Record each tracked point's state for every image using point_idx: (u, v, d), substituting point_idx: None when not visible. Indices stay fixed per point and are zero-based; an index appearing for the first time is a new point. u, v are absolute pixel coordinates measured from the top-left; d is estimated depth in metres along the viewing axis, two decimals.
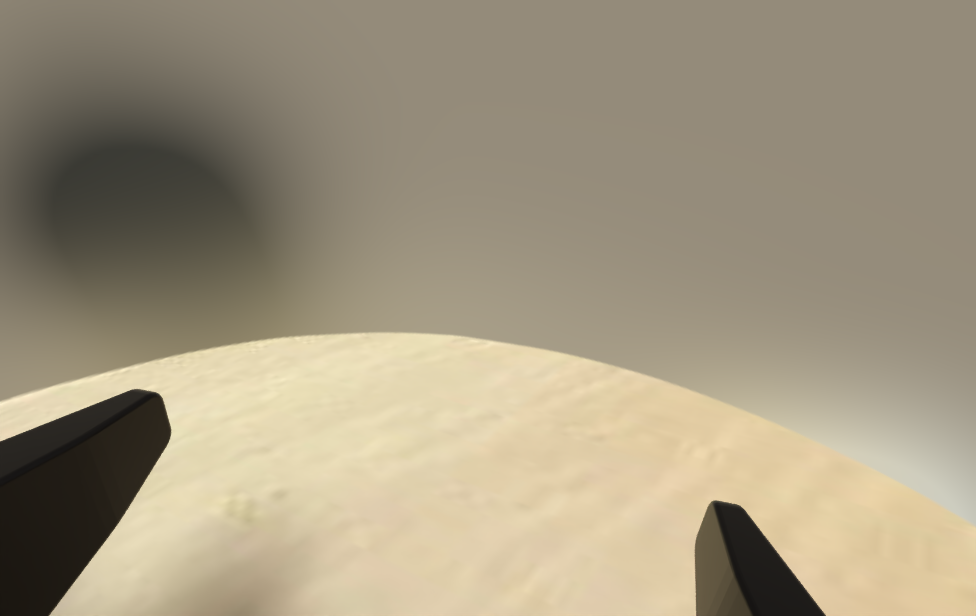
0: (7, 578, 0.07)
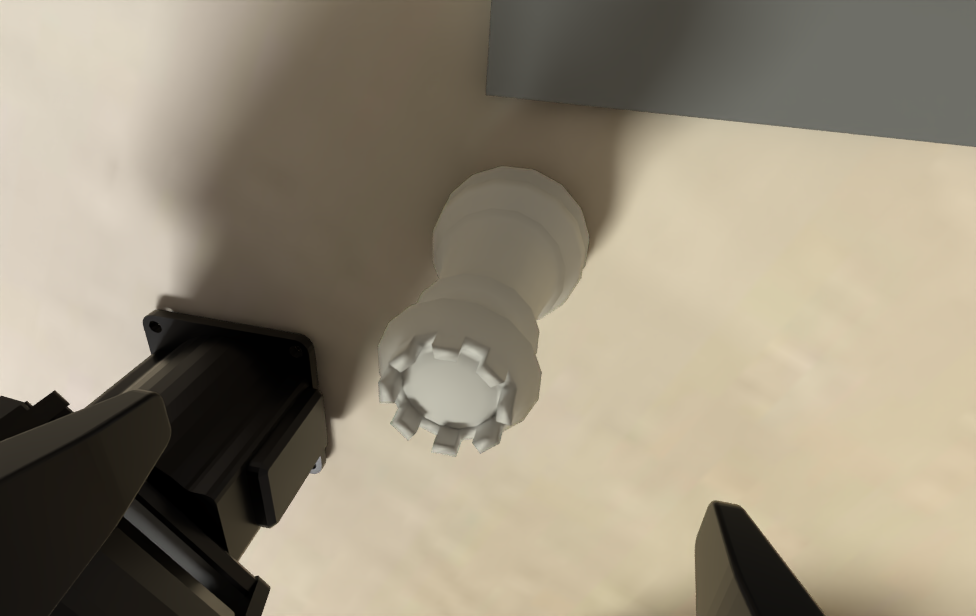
0: (7, 578, 0.07)
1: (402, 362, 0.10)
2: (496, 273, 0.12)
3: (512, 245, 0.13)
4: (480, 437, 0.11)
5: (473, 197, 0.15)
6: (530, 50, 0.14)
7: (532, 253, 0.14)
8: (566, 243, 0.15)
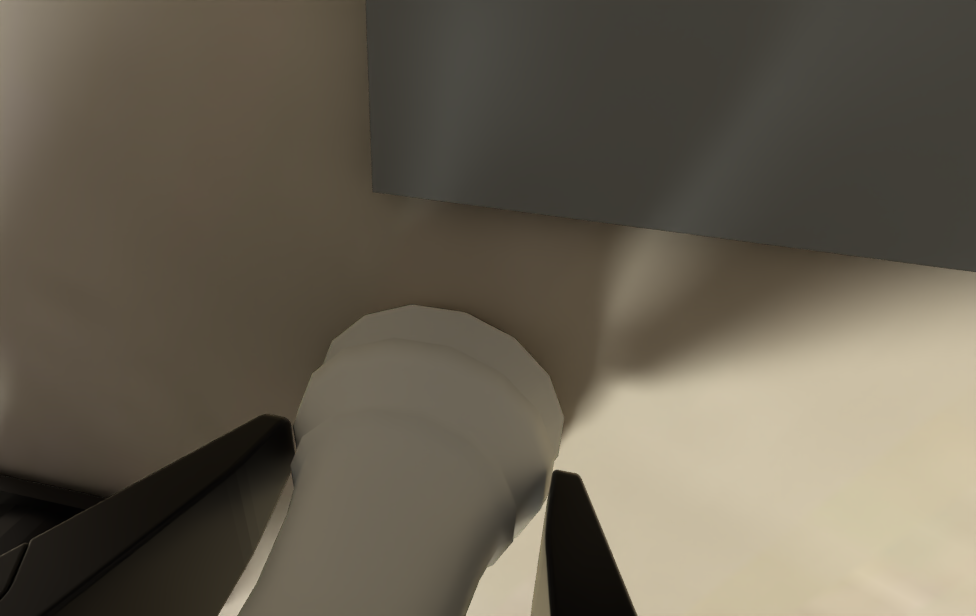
0: None
1: None
2: None
3: (403, 506, 0.07)
4: None
5: (351, 376, 0.08)
6: (445, 117, 0.07)
7: (446, 512, 0.07)
8: (520, 460, 0.08)
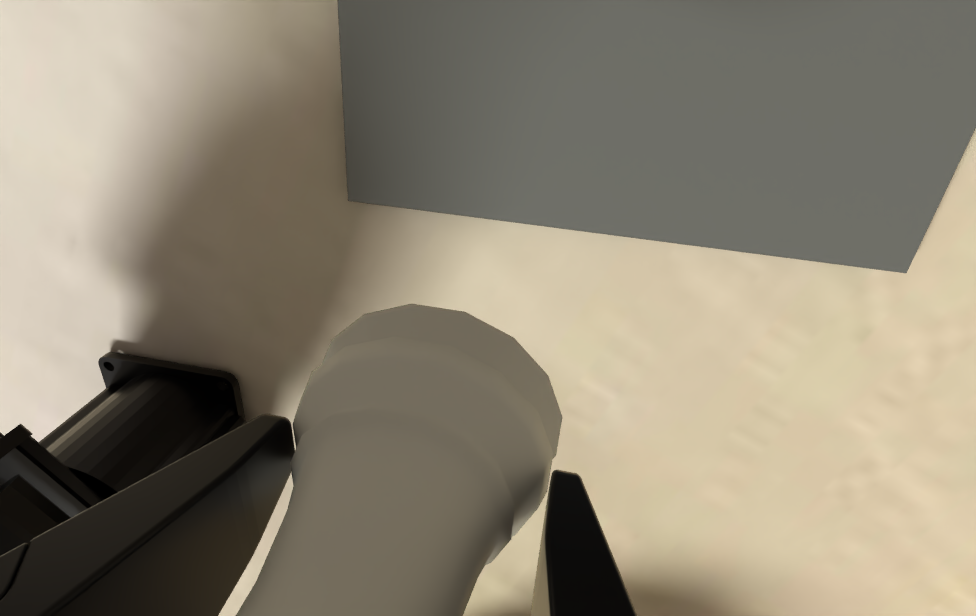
0: None
1: None
2: (348, 615, 0.06)
3: (402, 503, 0.07)
4: None
5: (351, 375, 0.08)
6: (376, 171, 0.19)
7: (445, 510, 0.07)
8: (518, 457, 0.08)
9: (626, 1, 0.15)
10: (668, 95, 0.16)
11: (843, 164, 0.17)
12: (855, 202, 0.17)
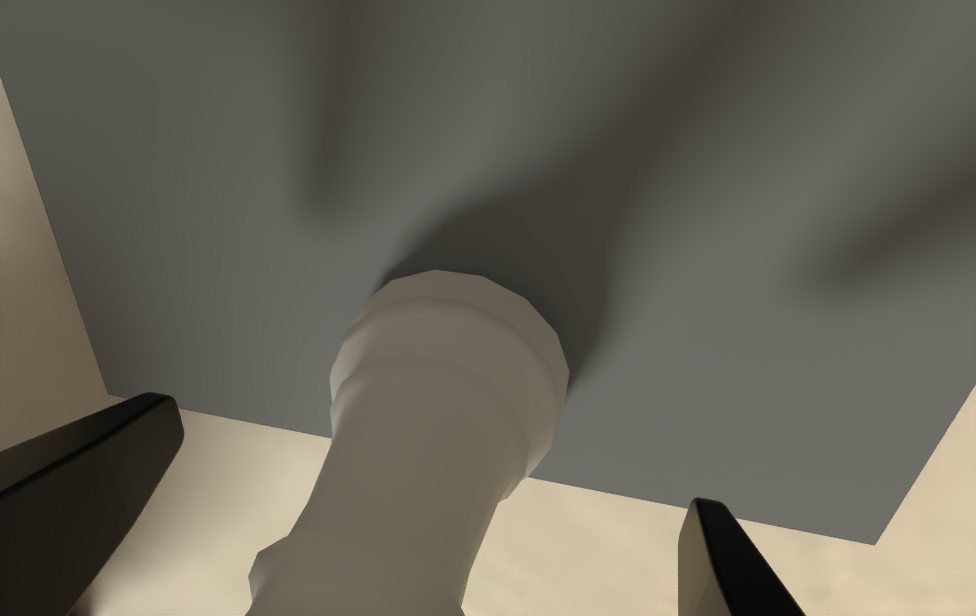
0: (24, 582, 0.07)
1: None
2: (394, 515, 0.07)
3: (434, 432, 0.08)
4: None
5: (384, 330, 0.09)
6: (134, 364, 0.14)
7: (470, 439, 0.08)
8: (531, 402, 0.09)
9: (429, 175, 0.10)
10: None
11: (776, 408, 0.11)
12: (797, 456, 0.11)
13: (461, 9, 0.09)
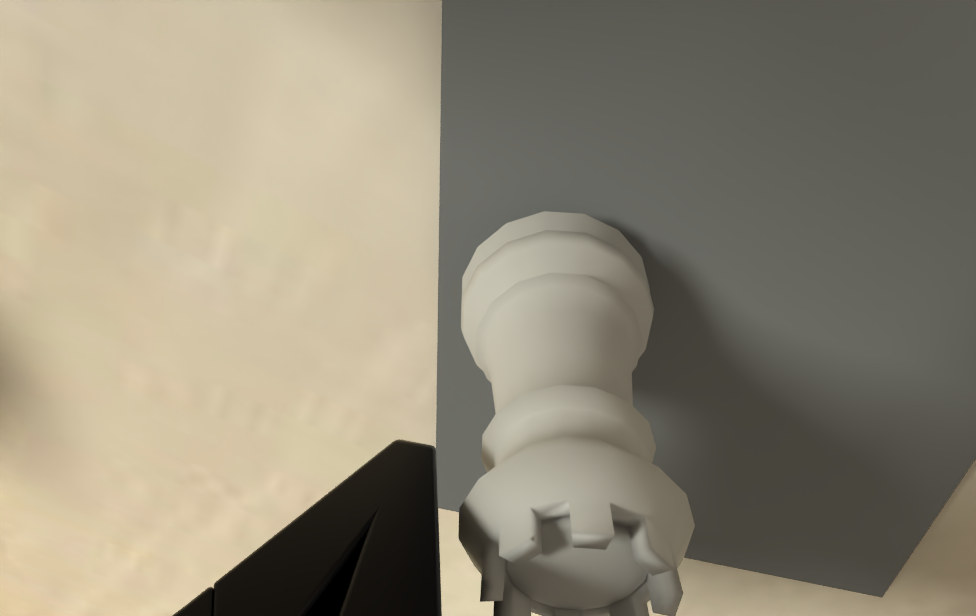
0: None
1: (653, 564, 0.07)
2: None
3: None
4: None
5: (642, 299, 0.12)
6: None
7: None
8: None
9: (715, 279, 0.13)
10: None
11: None
12: None
13: (826, 311, 0.13)
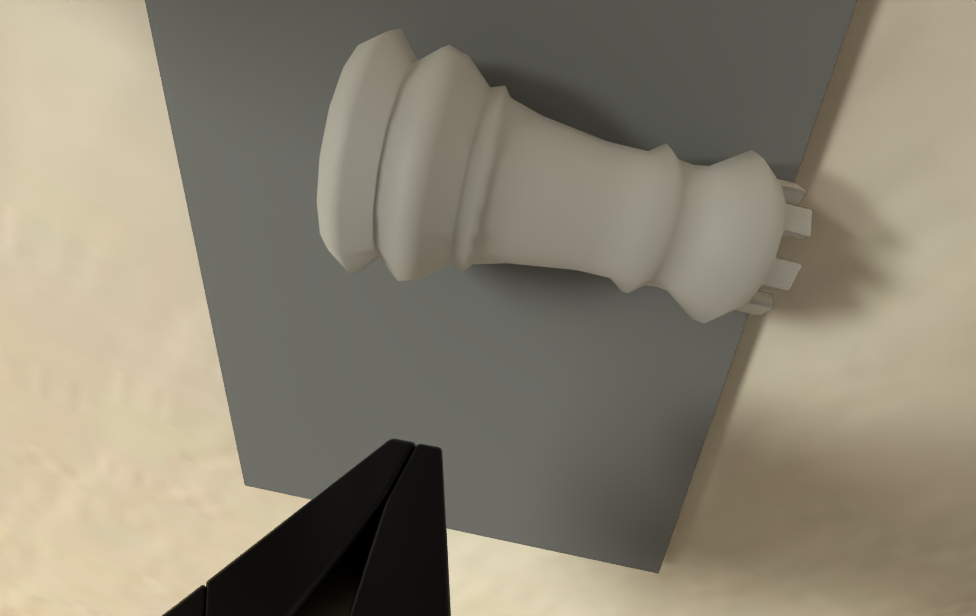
0: None
1: None
2: None
3: (522, 264, 0.11)
4: (799, 230, 0.10)
5: None
6: None
7: (512, 260, 0.10)
8: (436, 248, 0.10)
9: None
10: (354, 299, 0.15)
11: (321, 438, 0.18)
12: (291, 449, 0.18)
13: (542, 289, 0.14)
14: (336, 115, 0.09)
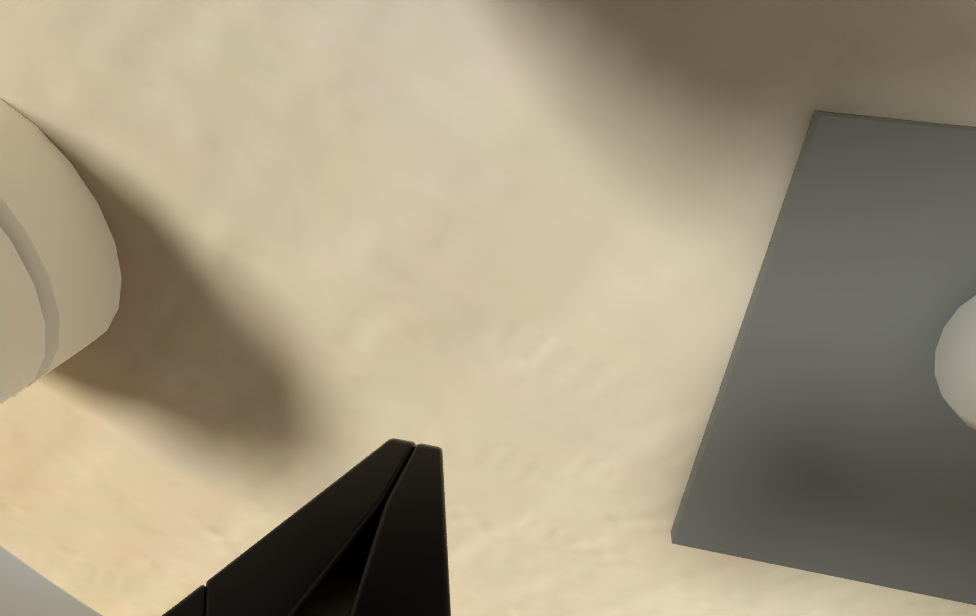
0: None
1: None
2: None
3: None
4: None
5: None
6: (850, 157, 0.16)
7: None
8: None
9: None
10: (853, 417, 0.20)
11: (765, 511, 0.23)
12: (733, 518, 0.24)
13: None
14: None
